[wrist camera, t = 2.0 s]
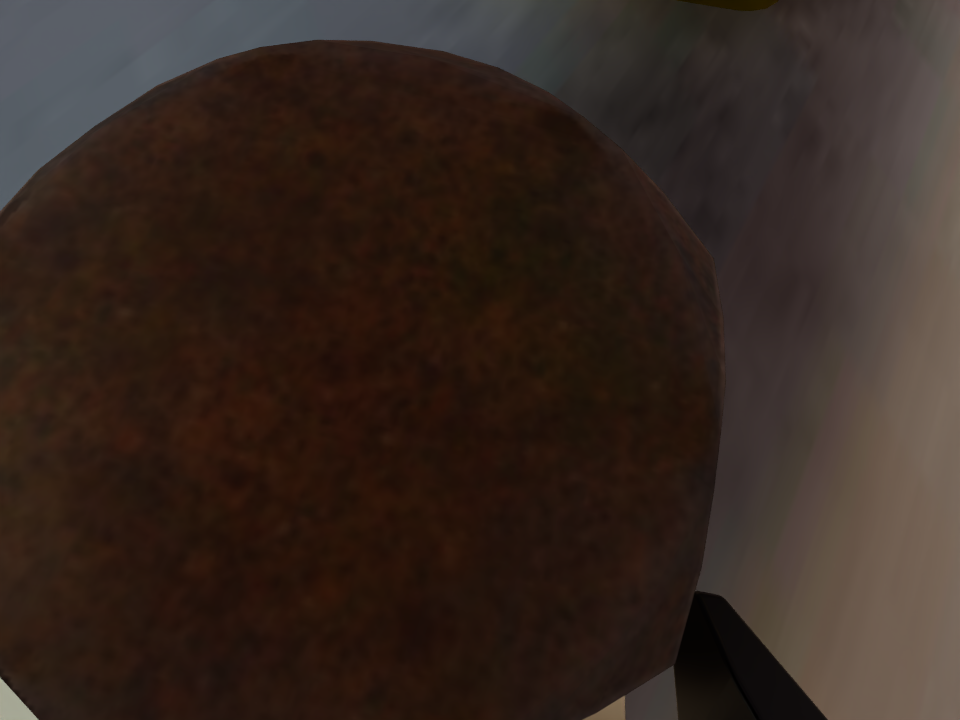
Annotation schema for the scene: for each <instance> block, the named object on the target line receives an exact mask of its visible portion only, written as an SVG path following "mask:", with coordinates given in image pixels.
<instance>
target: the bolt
mask: <svg viewBox="0 0 960 720" xmlns="http://www.w3.org/2000/svg"><path fill="white" fill-rule="evenodd" d="M725 384H726V374H725V347H724V321H723V312H722V306H721V300H720V294H719V288H718V282H717V276H716V269H715V263H714V258H713V257H712V256H711V254H710V253H709V252H708V250H707V249H706V248H705V247H704V245H703V244H702V243H701V241H700V240H699V239H698V237H697V236H696V235H695V233H694V232H693V231H692V229H691V228H690V227H689V225H688V224H687V223H686V221H685V220H684V219H683V217H682V216H681V215H680V213H679V212H678V211H677V209H676V208H675V207H674V206H673V204H672V203H671V202H670V200H669V199H668V198H667V196H666V195H665V194H664V192H663V191H662V190H661V189H660V188H659V187H658V186H657V185H656V184H655V183H654V182H653V181H652V180H651V179H650V178H649V177H648V176H647V175H646V174H645V173H644V172H643V171H642V169H641V168H640V167H639V166H638V165H637V164H636V163H635V162H634V161H633V160H632V159H631V158H630V157H629V156H628V155H627V154H626V153H625V152H624V151H623V150H622V149H621V148H620V147H619V146H618V145H617V144H615V143H614V142H613V141H612V140H611V139H609V138H608V137H607V136H606V135H605V134H603V133H602V132H601V131H600V130H599V129H597V128H596V127H595V126H594V125H593V124H591V123H590V122H589V121H588V120H587V119H585V118H584V117H583V116H581V115H580V114H579V113H577V112H576V111H574V110H573V109H572V108H570V107H569V106H567V105H566V104H564V103H563V102H562V101H560V100H559V99H557V98H556V97H555V96H553V95H552V94H550V93H549V92H547V91H545V90H543V89H541V88H539V87H537V86H535V85H533V84H531V83H529V82H527V81H525V80H523V79H520V78H518V77H516V76H514V75H512V74H510V73H508V72H506V71H504V70H502V69H500V68H498V67H494V66H491V65H488V64H484V63H481V62H478V61H474V60H471V59H468V58H464V57H461V56H457V55H454V54H451V53H447V52H444V51H438V50H431V49H424V48H417V47H410V46H403V45H396V44H389V43H382V42H375V41H346V40H312V41H305V42H297V43H289V44H281V45H273V46H266V47H259V48H256V49H252V50H248V51H245V52H241V53H237V54H234V55H230V56H226V57H223V58H219V59H216V60H214V61H212V62H210V63H207V64H205V65H203V66H200V67H198V68H196V69H194V70H191V71H189V72H187V73H185V74H182V75H180V76H178V77H175V78H173V79H171V80H169V81H166V82H164V83H162V84H160V85H157V86H156V87H154V88H153V89H151V90H150V91H148V92H147V93H145V94H144V95H142V96H140V97H139V98H137V99H136V100H134V101H133V102H131V103H130V104H128V105H127V106H125V107H124V108H122V109H120V110H119V111H117V112H116V113H114V114H113V115H111V116H110V117H108V118H107V119H105V120H104V121H102V122H100V123H99V124H97V125H96V126H94V127H93V128H92V129H91V130H89V131H88V132H87V133H85V134H84V135H83V136H81V137H80V138H79V139H78V140H76V141H75V142H74V143H72V144H71V145H70V146H68V147H67V148H66V149H65V150H63V151H62V152H61V153H59V154H58V155H57V156H55V157H54V158H53V159H52V160H50V161H49V162H48V163H46V164H45V165H44V166H42V167H41V168H40V169H39V170H38V171H37V172H36V173H35V174H34V175H33V176H32V177H31V178H30V179H29V180H28V182H27V183H26V184H25V185H24V186H23V187H22V188H21V189H20V190H19V191H18V193H17V194H16V195H15V196H14V197H13V198H12V199H11V200H10V201H9V202H8V204H7V205H6V206H5V207H4V208H3V209H2V210H1V211H0V678H1V679H2V680H3V681H4V682H5V683H6V684H7V686H8V687H9V688H10V689H11V690H12V691H13V692H14V693H15V694H16V695H17V697H18V698H19V699H20V700H21V701H22V702H23V703H24V704H25V705H26V706H27V708H28V709H29V710H30V711H31V712H32V713H33V714H34V715H35V716H36V718H37V719H38V720H583V719H585V718H587V717H589V716H591V715H594V714H596V713H597V712H599V711H601V710H602V709H604V708H605V707H607V706H609V705H610V704H612V703H613V702H615V701H617V700H618V699H620V698H621V697H623V696H625V695H626V694H628V693H629V692H631V691H633V690H634V689H636V688H637V687H639V686H641V685H642V684H644V683H645V682H647V681H649V680H650V679H652V678H653V677H655V676H657V675H658V674H660V673H661V672H663V671H665V670H666V669H668V668H669V667H671V666H673V665H674V664H675V662H676V658H677V654H678V651H679V647H680V644H681V640H682V636H683V633H684V629H685V625H686V622H687V618H688V615H689V611H690V607H691V604H692V600H693V596H694V593H695V589H696V586H697V582H698V578H699V575H700V571H701V567H702V562H703V556H704V549H705V543H706V537H707V531H708V525H709V518H710V512H711V506H712V500H713V493H714V486H715V477H716V469H717V461H718V453H719V444H720V436H721V426H722V416H723V405H724V394H725Z"/></svg>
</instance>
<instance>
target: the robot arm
mask: <svg viewBox="0 0 960 720" xmlns="http://www.w3.org/2000/svg"><path fill="white" fill-rule="evenodd" d="M674 677H675V688H676V699H677V711H678V720H828V719H827V718H826V717H825V716H824V715H823V714H822V712H821V711H820V710H819V709H818V708H817V706H816V705H815V704H814V703H813V702H812V701H811V699H810V698H809V697H808V696H807V695H806V694H805V692H804V691H803V690H802V689H801V688H800V686H799V685H798V684H797V683H796V682H795V681H794V679H793V678H792V677H791V676H790V675H789V674H788V672H787V671H786V670H785V669H784V668H783V666H782V665H781V664H780V663H779V662H778V661H777V659H776V658H775V657H774V656H773V655H772V654H771V652H770V651H769V650H768V649H767V648H766V646H765V645H764V644H763V643H762V642H761V641H760V639H759V638H758V637H757V636H756V635H755V634H754V632H753V631H752V630H751V629H750V628H749V626H748V625H747V624H746V623H745V622H744V621H743V619H742V618H741V617H740V616H739V615H738V614H737V612H736V611H735V610H734V609H733V608H732V606H731V605H730V604H729V603H728V602H727V601H726V600H725V599H724V598H723V597H721V596H719V595H716V594H711V593H706V592H700V591H695V593H694V596H693V600H692V604H691V607H690V611H689V615H688V618H687V622H686V625H685V629H684V633H683V636H682V640H681V644H680V647H679V651H678V654H677V658H676V662H675V664H674Z"/></svg>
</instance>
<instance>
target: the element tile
mask: <svg viewBox="0 0 960 720" xmlns="http://www.w3.org/2000/svg"><path fill="white" fill-rule="evenodd" d="M678 1H684V2H690V3H696V4H702V5H708V6H714V7H720V8H726V9H733V10H740V11H754V10H760V9H766V8H768V7H770V6H771V5H773V4H775V3H776V2H778V0H678Z"/></svg>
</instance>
